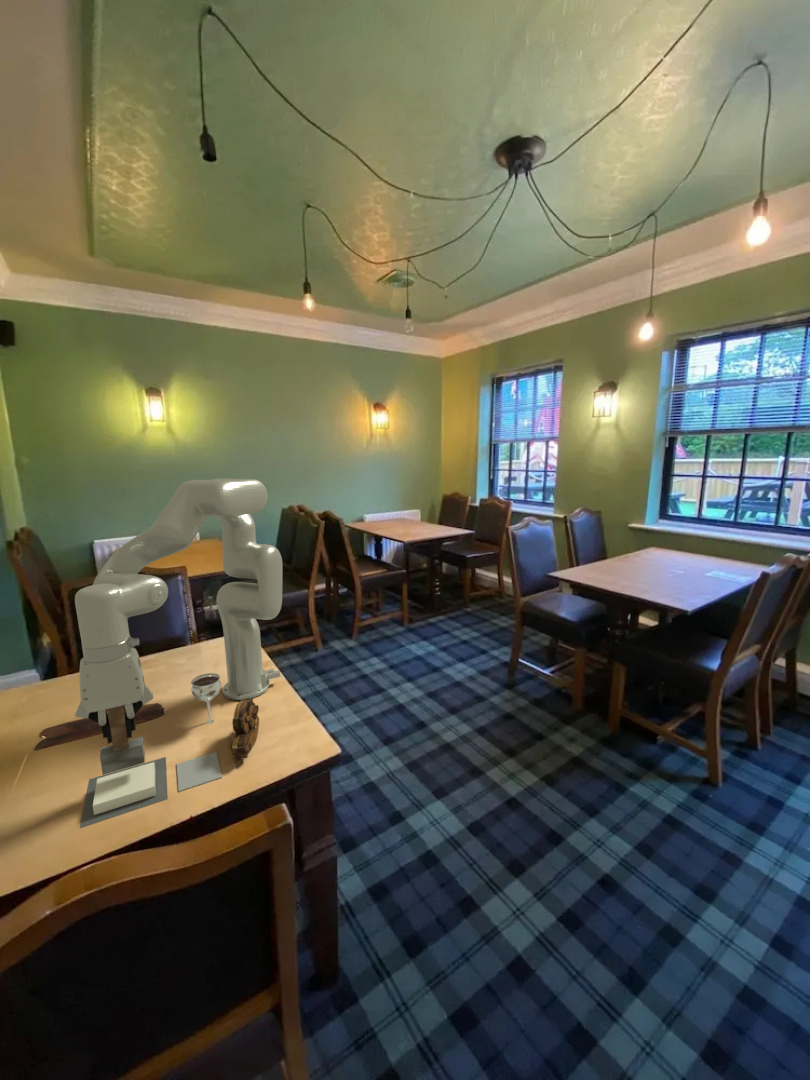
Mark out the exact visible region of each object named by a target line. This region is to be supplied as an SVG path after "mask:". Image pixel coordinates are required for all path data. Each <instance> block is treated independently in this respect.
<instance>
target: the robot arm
mask: <svg viewBox="0 0 810 1080" xmlns="http://www.w3.org/2000/svg"><path fill="white" fill-rule="evenodd" d="M267 501H268V490H267V488H266V486H265V485H264V483H263V482H261V481H260V480H258V479H253V478H213V479H212V478H211V479H193V480H187V481H185V482H183V483H181V484H180V485H179V487H178V488H177V489H176V491H175V492H174V493H173V495H172V497H171V498H170V499H169V501H168V502H167V504H166V505H165V507H164V509H163V510H162V511H161V513H160V514H159V516H158V517H157V519H156V520H155V522H154V523H153V524H152V526H150V527H149V528H148V529H146V530H144V531H143V532H141V533H138V535H136V536H135V537H133V538H132V539H130V540H129V541H127V542H126V543H124V544H123V545H121V547H119V548H118V549H116V551H114V552H113V553H112V555H110V557H109V558H108V559H107V561H106V562H105V563H104V565H102V567H101V569H100V571H99V572H98V574H97V575H96V576H95V578H94V581H93V583H92V585H88V586H85V587H83V588H80V589H79V590H78V591H77V592H76V593H75V596H74V605H75V611H76V615H77V623H78V629H79V634H80V635H79V636H80V639H81V641H80V642H81V649H82V654H83V657H82V658H81V659H80V661H79V662H80V663H79V691H80V693H79V694H80V702H79V703H78V706H77V708H76V711H75V715H74V716H75V717H76V718H80V719H83V718H89V719H91V720H93V721H95V722H97V723H99V725H100V726H102V732H103V734H102V738H103V739H107V743H108V744H112V736H111V729H110V725H109V719H108V715H107V713H108V712H107V709H111V708H115V707H119V706H123V705H125V709H126V719H125V725H126V732H127V738H132V737H133V731H136V726H137V725H136V724H135V718H134V716H135V714H136V713H137V712H138V710H139V709H140V708H141V707H142V706H143V705H147V703H149V702H151V701H152V700H154V693H153V692H152V691H151V689H149V687H148V686H147V685H146V683H145V679H144V678H145V677H144V672H143V667H142V662H141V659H140V656H139V653H138V650H137V649H136V648H135V647H136V646H140V638H139V637H136V638H135V637H132V636H131V634H130V628H129V622H128V619H129V618H131V617H136V616H140V615H144V614H147V613H148V614H149V613H151V612H155V611H156V610H158V609H160V607H162V606H163V605H164V604H165V603H166V601H167V599H168V596H169V588H168V587H169V586H168V584H167V583H166V582H165V581H164V580H163V579H162V578H161V577H158V576H154V575H151V574H139V572H140V571H141V570H143V569H144V568H145V567H146V566H148V565H150V564H151V563H153V562H155V561H158V560H159V559H163V558H165V557H169V556H172V555H175V554H178V553H181V552H182V551H185V550H187V549H188V548H189V547H190V546H191V545H192V543H193V541H194V539H195V538H196V536H197V535H198V533H199V531H200V529H201V528H202V526H203V525H204V523H205V522H206V520H207V518H209V517H216V518H217V519H218V520H219V523H220V524H221V530H222V531H221V532H222V533H221V534H222V568H223V571H224V573H225V574H226V575H228V576H229V577H231V578H232V577H233V578H239V579H251V580H252V579H254V580H257V583H253V582H246V581H245V582H244V581H243V582H242V581H232V582H227V583H226V584H223V585H222V586H221V587H220V588H219V590H218V591H217V595H216V600H215V601H216V608H217V610H218V613H219V617H220V620H221V624H222V631H223V632H222V633H223V641H224V652H225V653H224V654H225V663H226V675H227V682H226V683H225V684H224V686H223V688H222V694H223V696H224V697H225V698H226V699H229V700H234V701H242V698H250V697H251V698H252V699H254V698H256V697H259V696H261V695H262V694H264V693H265V692H267V690H268V689H269V688H268V687H270V680H271V679H272V680H273V679H278V678H280V677H281V672H280V670H274V668H271V669H266V670H265V669H264V668H263V658H262V657H263V656H262V655H263V654H262V642H261V630H260V625H259V623H258V621H257V620H261V621H262V620H266V621H267V620H273V619H275V618H276V617H277V616H278V615H279V613H281V612H280V611H281V610H282V604H283V558H282V555H281V552H280V551H279V549H278V548H277V547H275V546H274V545H272V544H265V543H258V542H257V539H256V538H257V536H256V522H255V520H254V519H253V517H252V515H251V514H256V513H258V512H260V511H261V510H263V508H265V506H266V504H267Z"/></svg>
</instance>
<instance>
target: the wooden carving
mask: <svg viewBox="0 0 810 1080" xmlns="http://www.w3.org/2000/svg"><path fill="white" fill-rule="evenodd" d="M259 709H260V707H259V705H258V704H256V702H254V700H253V698H251V697H250V698H242V700H239V702H238V703H237V704H236V706H235V708H234V713H233V718H232V729H233V732H234V734H235V735H234V737H233V740H232V746H231V752H232V754H233V755H234V757H235V760H236V761H242V760H243V759H247V758H248V756H249V751H250V749H253V747H254V746H255V744H256V741H257V738H258V733H259V727H260V726H259V725H260V717H259V715H258V713H259Z"/></svg>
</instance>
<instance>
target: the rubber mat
mask: <svg viewBox="0 0 810 1080" xmlns="http://www.w3.org/2000/svg"><path fill="white" fill-rule="evenodd" d="M152 762H154V763H155V773H156V795H155V796H152V797H149V798H146V799H143V800H140V801H136V802H133V803H130V804H127V805H124V806H121V807H118V808H115V809H112V810H109V811H106V812H103V813H99V814H96V815H94V811H93V801H94V795H95V789H96V783H97V779H98V778H101V777H105V776H108V775H112V774H115V773H118V772H122V771H125V770H129V769H132V768H135V767H139V766H142V765H146V764H149V763H152ZM168 799H169V797H168V776H167V757H166V756H163V757H161V758H157V759H154V760H150V761H147V762H145V763H142V764H138V765H135V766H132V767H128V768H125V769H121V770H118V771H114V772H111V773H108V774H104V775H103V774H101V775H99V776H95V777H93V778H89V780H88V783H87V789H86V795H85V800H84V804H83V809H82V814H81V816H82V817H81V821H80V826H79V829H82V828H86V827H88V826H91V825H94V824H97V823H100V822H103V821H106V820H108V819H113V818H115V817H118V816H121V815H124V814H127V813H130V812H133V811H134V812H135V811H137V810H139V809H143V808H145V807H148V806H151V805H154V804H157V803H160V802H163V801H167V800H168Z"/></svg>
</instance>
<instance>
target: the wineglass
mask: <svg viewBox="0 0 810 1080" xmlns="http://www.w3.org/2000/svg"><path fill="white" fill-rule="evenodd" d="M190 685H191V694H192V696H193V698H195V699H196V700H198V701H201V702H206V703H205V704H206V709H207V716H208V719H207V720H206V721H205V724H207V725H212V724H213V723H215V719H213V718H212V719H211V703H210V702H211V701H212V700H213V699H214V698H216V697H217V696H218V695H219V693H220V692H221V689H222V681H221V675H220V674H218V673H214V672H211V673H207V672H206V673H203V674H200V675H198V676H196V677H194V678H193V679H192V680H191V681H190Z"/></svg>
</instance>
